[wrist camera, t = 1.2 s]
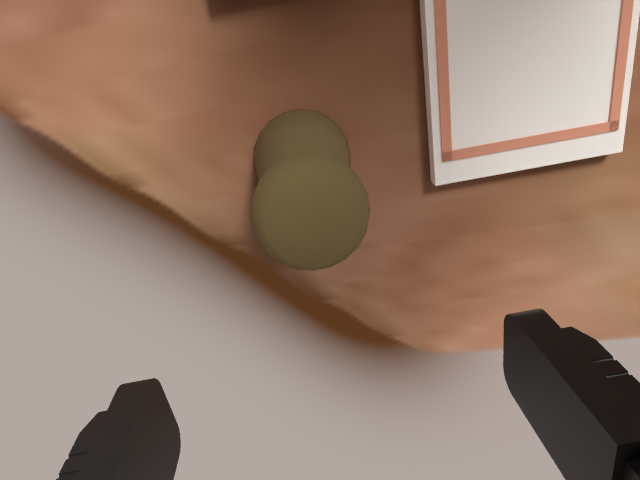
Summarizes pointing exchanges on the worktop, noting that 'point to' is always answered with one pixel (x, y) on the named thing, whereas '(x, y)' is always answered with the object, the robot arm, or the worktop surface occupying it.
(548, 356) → the robot arm
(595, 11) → the marked board
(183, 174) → the worktop surface
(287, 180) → the olive rounded piece
